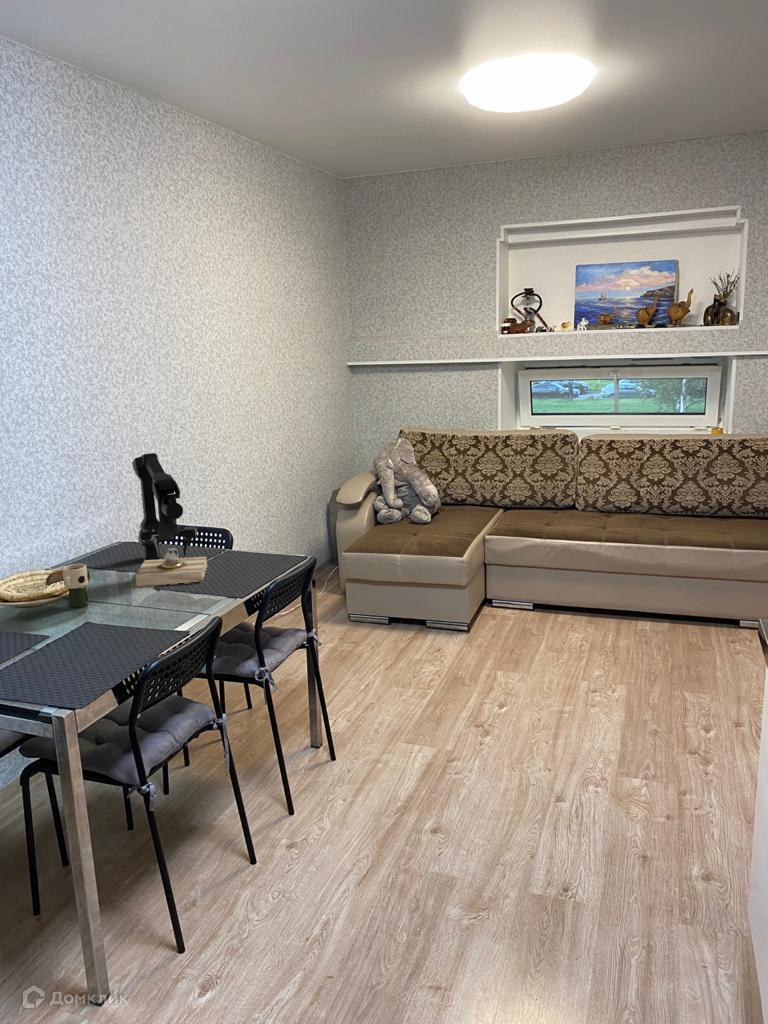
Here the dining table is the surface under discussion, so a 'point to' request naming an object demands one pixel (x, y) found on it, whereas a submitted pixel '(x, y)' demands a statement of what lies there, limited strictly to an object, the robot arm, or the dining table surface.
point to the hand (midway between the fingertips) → (171, 556)
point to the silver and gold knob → (171, 559)
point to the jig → (171, 572)
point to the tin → (59, 577)
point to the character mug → (76, 584)
